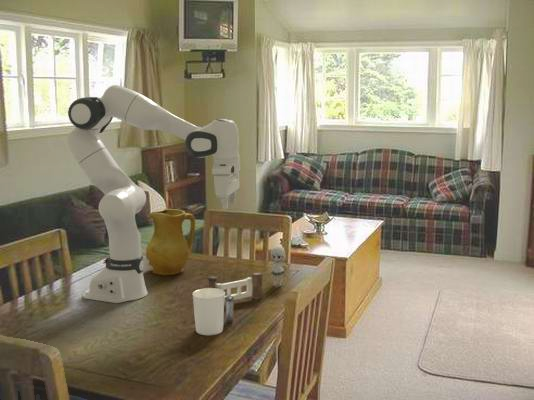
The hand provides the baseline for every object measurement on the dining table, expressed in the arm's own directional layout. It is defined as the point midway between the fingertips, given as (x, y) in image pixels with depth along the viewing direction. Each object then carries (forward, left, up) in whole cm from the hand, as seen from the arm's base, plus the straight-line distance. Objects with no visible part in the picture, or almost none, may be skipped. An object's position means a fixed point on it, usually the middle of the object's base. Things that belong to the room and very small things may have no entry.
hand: (229, 206), depth 226 cm
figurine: (+14, +18, -33) cm, 40 cm away
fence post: (+10, +1, -33) cm, 34 cm away
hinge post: (-3, -12, -33) cm, 35 cm away
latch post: (+6, -24, -33) cm, 41 cm away
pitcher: (-32, +28, -33) cm, 54 cm away
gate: (+3, -6, -31) cm, 32 cm away
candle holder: (+2, -32, -33) cm, 46 cm away
